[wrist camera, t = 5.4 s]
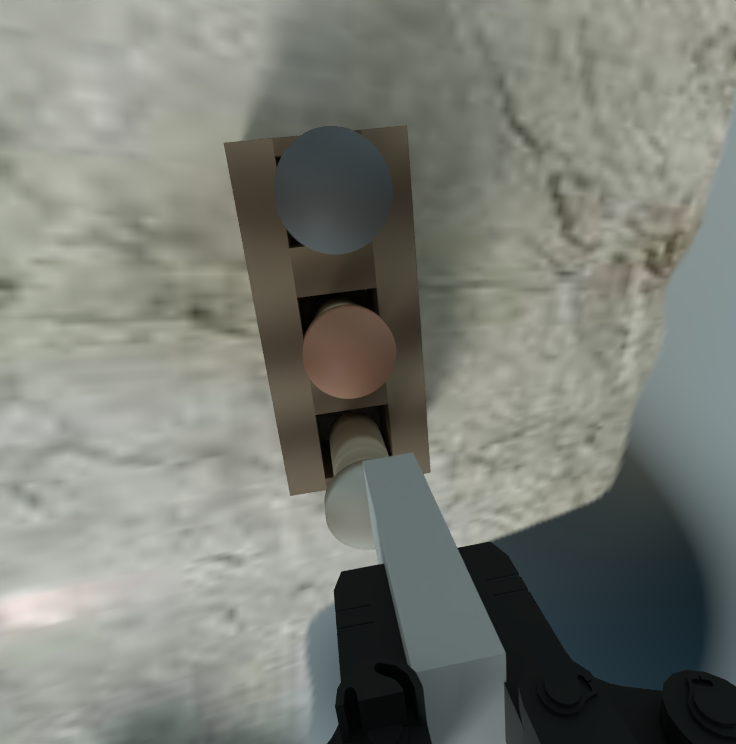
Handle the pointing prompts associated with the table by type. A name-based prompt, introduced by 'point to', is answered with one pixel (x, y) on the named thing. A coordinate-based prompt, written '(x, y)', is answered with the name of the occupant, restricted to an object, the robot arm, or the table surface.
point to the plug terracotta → (347, 348)
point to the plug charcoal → (333, 190)
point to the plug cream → (352, 478)
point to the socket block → (325, 276)
